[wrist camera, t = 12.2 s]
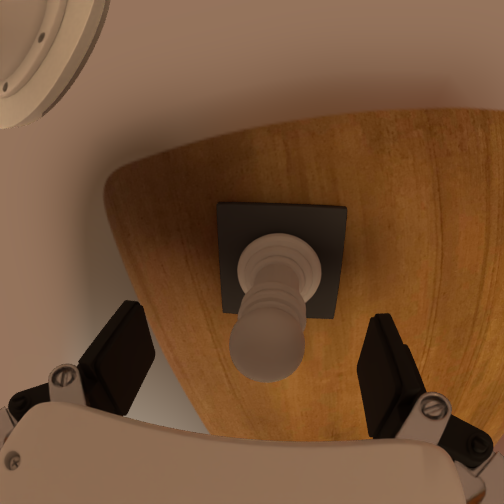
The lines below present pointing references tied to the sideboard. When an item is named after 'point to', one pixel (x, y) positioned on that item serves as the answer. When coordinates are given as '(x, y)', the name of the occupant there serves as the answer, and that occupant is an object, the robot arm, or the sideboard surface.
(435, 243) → the sideboard surface
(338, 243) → the mat
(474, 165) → the sideboard surface
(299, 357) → the chess piece
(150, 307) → the sideboard surface
